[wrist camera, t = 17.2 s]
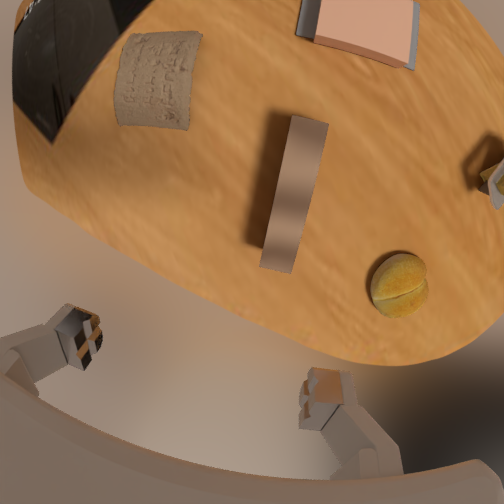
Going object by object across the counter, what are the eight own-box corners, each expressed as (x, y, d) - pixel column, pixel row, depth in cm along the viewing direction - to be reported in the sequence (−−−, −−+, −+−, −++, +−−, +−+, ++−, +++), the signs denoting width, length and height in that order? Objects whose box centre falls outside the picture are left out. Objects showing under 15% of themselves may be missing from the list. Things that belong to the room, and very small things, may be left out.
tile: (313, 42, 24) (323, -16, 21) (398, 68, 24) (404, 9, 20) (315, 34, 22) (326, -28, 18) (408, 63, 21) (413, 1, 17)
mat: (308, -30, 20) (308, -31, 20) (418, 4, 19) (419, 3, 19) (296, 35, 24) (296, 34, 24) (413, 70, 24) (414, 70, 24)
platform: (428, 176, 29) (454, 188, 23) (496, 93, 22) (526, 92, 16) (470, 240, 31) (495, 259, 25) (532, 159, 24) (560, 168, 18)
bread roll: (419, 243, 32) (432, 256, 29) (425, 298, 35) (435, 313, 32) (362, 262, 35) (370, 277, 31) (374, 316, 38) (380, 333, 34)
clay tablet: (134, 31, 26) (123, 26, 23) (208, 25, 25) (201, 17, 23) (120, 134, 32) (108, 135, 29) (192, 136, 31) (184, 137, 29)
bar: (291, 117, 29) (292, 114, 24) (322, 124, 29) (328, 123, 24) (263, 248, 35) (259, 266, 31) (290, 254, 35) (290, 273, 31)
